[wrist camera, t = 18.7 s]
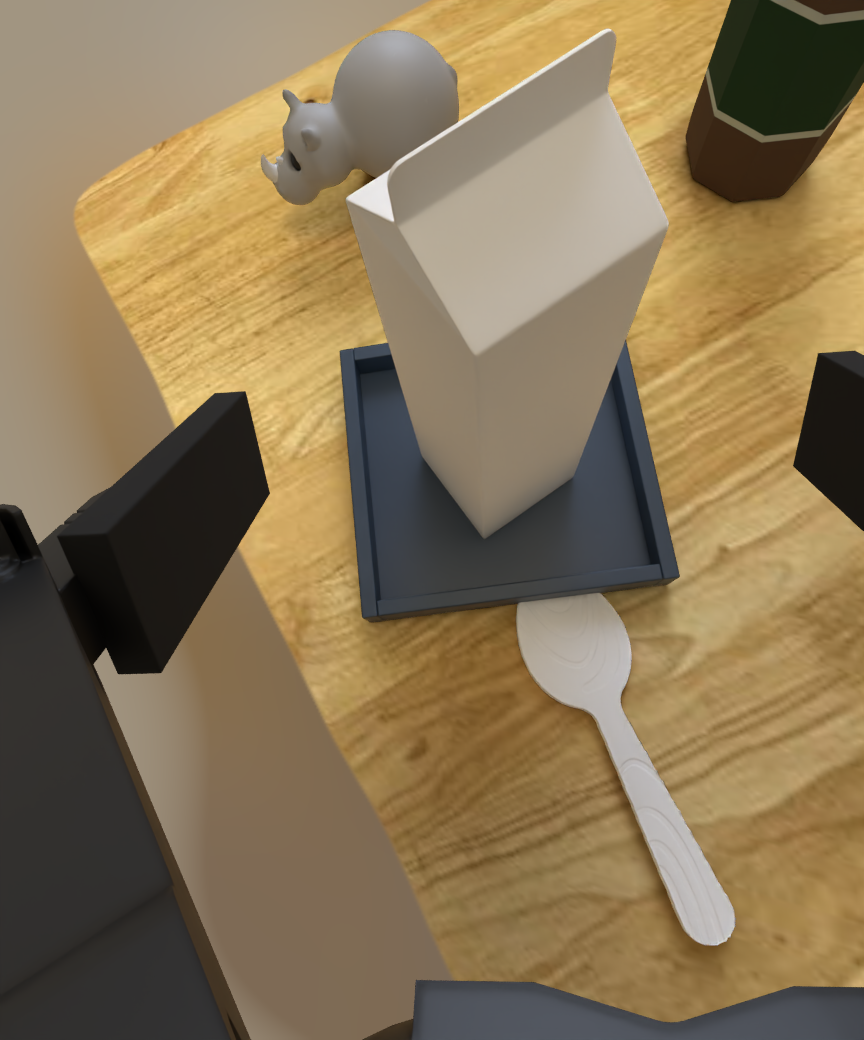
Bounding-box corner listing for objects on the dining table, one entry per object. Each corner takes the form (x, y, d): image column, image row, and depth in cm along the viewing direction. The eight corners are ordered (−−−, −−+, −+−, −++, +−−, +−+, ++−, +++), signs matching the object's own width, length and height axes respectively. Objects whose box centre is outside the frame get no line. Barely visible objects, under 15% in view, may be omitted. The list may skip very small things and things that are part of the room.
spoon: (663, 966, 27) (666, 971, 27) (492, 592, 33) (492, 590, 32) (773, 915, 27) (778, 919, 27) (585, 552, 33) (586, 549, 32)
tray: (611, 328, 36) (618, 306, 34) (668, 584, 32) (680, 577, 30) (347, 368, 37) (339, 349, 35) (369, 622, 33) (361, 618, 31)
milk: (421, 456, 35) (301, 83, 13) (509, 396, 35) (528, -58, 14) (485, 542, 33) (465, 271, 12) (577, 478, 33) (717, 104, 12)
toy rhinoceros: (270, 187, 41) (215, 62, 33) (438, 118, 41) (424, -24, 33) (306, 271, 39) (257, 160, 31) (481, 198, 39) (478, 68, 31)
